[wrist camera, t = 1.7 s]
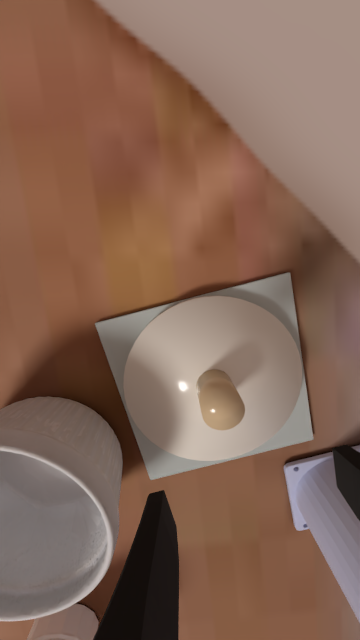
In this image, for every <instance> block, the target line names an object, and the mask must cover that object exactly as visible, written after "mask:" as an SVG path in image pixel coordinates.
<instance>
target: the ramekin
mask: <svg viewBox="0 0 360 640" xmlns="http://www.w3.org/2000/svg"><path fill="white" fill-rule="evenodd" d="M122 467H123V460H122V451H121V448H120V443H119V441H118V439H117V436H116V435H115V433H114V431H113V429H112V428H111V427H110V426H109V424H108V423H107V422H106V421H105V420H104V419H103V418H102V417H101V416H100V415H99V414H98V413H96V412H95V411H94V410H92V409H91V408H89V407H87V406H85V405H83V404H81V403H79V402H76V401H73V400H70V399H65V398H60V397H50V396H47V397H35V398H27V399H24V400H22V401H18V402H15V403H13V404H11V405H8V406H6V407H4V408H2V409H0V621H21V620H29V619H35V618H39V617H44V616H47V615H51V614H54V613H57V612H59V611H61V610H64V609H66V608H68V607H70V606H72V605H74V604H75V603H77V602H78V601H80V600H82V599H83V598H84V597H86V596H87V595H88V594H89V593H90V592H91V591H92V590H93V589H94V588H95V587H96V586H97V585H98V584H99V583H100V581H101V580H102V578H103V577H104V575H105V574H106V572H107V570H108V568H109V566H110V563H111V560H112V557H113V554H114V550H115V546H116V542H117V538H118V532H119V511H118V505H119V497H120V488H121V478H122Z"/></svg>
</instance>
